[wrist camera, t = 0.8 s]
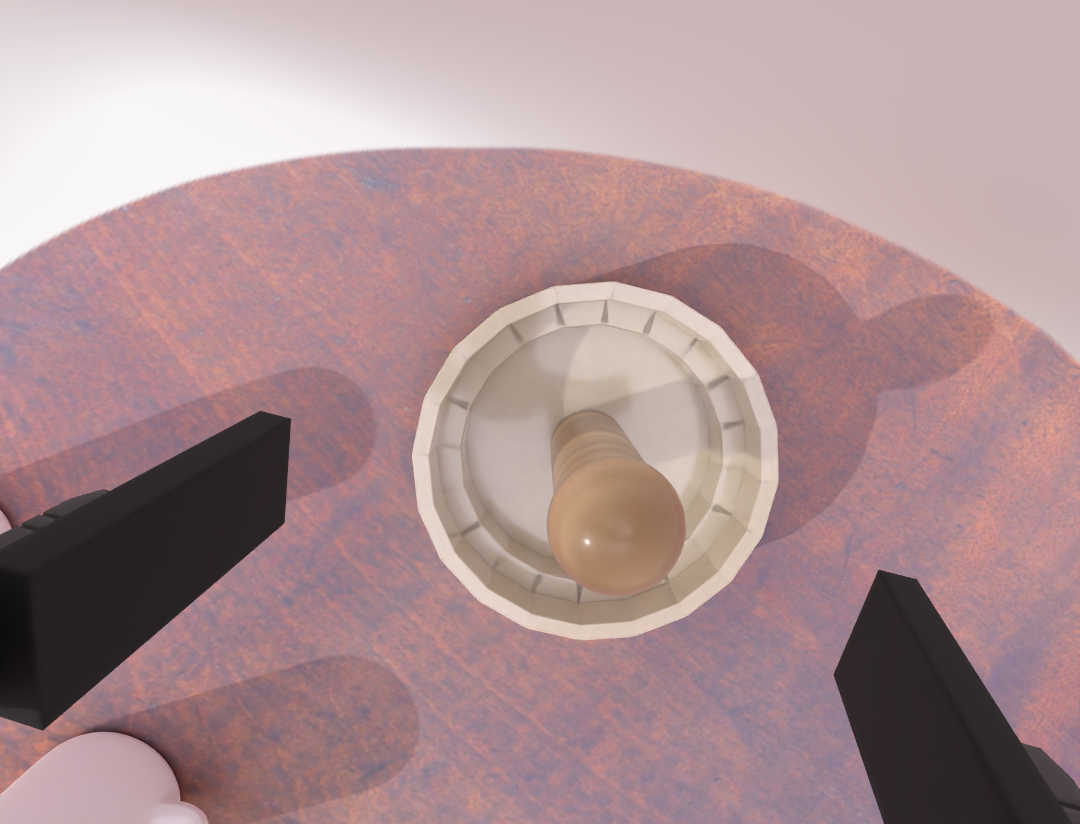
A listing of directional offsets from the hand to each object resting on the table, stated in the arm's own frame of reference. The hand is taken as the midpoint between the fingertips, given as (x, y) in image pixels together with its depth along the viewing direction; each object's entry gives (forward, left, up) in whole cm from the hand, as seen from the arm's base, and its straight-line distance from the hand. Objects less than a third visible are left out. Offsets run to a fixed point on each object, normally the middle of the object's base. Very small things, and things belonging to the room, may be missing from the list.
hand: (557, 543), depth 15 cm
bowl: (+3, 0, -21) cm, 21 cm away
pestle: (+3, 0, -20) cm, 20 cm away
